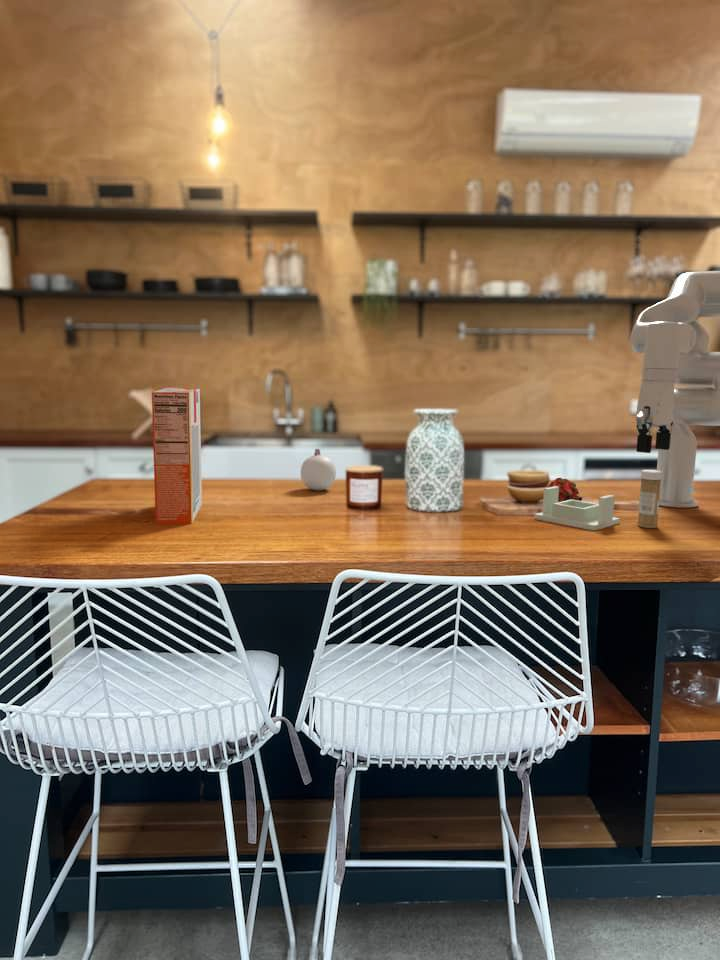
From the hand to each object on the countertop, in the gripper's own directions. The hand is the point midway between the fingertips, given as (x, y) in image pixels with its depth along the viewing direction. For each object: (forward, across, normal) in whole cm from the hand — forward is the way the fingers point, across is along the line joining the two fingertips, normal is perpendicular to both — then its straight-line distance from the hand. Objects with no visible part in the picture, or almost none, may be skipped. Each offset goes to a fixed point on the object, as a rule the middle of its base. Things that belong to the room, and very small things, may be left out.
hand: (653, 450), depth 169 cm
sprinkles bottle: (+18, 0, 0) cm, 18 cm away
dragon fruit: (+18, -4, -25) cm, 31 cm away
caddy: (+18, +8, -14) cm, 24 cm away
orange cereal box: (+18, +77, -82) cm, 114 cm away
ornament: (+18, +30, -85) cm, 92 cm away
